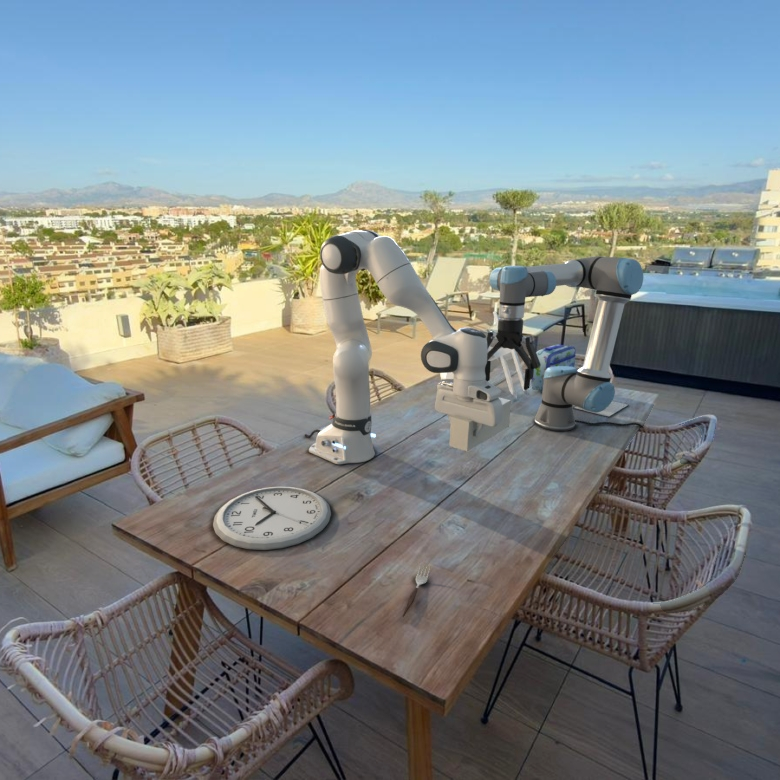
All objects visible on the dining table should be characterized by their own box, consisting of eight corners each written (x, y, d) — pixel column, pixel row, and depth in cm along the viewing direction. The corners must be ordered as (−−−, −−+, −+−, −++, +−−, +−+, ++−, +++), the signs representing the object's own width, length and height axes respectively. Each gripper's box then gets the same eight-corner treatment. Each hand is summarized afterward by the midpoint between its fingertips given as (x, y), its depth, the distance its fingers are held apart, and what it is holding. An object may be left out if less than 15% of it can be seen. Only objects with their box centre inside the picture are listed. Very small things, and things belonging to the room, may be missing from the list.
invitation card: (608, 416, 214) (573, 407, 224) (608, 416, 214) (573, 408, 224) (628, 404, 229) (594, 396, 238) (628, 405, 229) (594, 397, 238)
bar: (492, 422, 169) (494, 396, 166) (508, 426, 165) (511, 400, 162) (449, 446, 150) (450, 417, 147) (467, 451, 146) (469, 422, 143)
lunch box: (547, 397, 237) (552, 352, 231) (526, 391, 245) (531, 348, 238) (574, 386, 255) (580, 344, 249) (554, 381, 262) (559, 340, 256)
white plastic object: (461, 429, 252) (437, 405, 227) (444, 352, 274) (420, 323, 250) (535, 404, 240) (518, 377, 215) (510, 326, 262) (492, 293, 237)
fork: (396, 617, 102) (396, 608, 101) (420, 569, 116) (420, 561, 116) (409, 620, 101) (409, 612, 101) (431, 572, 116) (431, 564, 115)
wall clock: (329, 541, 123) (198, 546, 121) (329, 547, 124) (199, 552, 121) (332, 482, 152) (226, 484, 149) (332, 487, 152) (226, 489, 150)
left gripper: (431, 382, 149) (429, 427, 153) (496, 397, 137) (491, 445, 141) (443, 377, 154) (441, 421, 158) (507, 391, 142) (502, 438, 146)
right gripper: (468, 315, 163) (465, 380, 170) (546, 324, 149) (539, 395, 155) (479, 312, 169) (476, 375, 175) (555, 320, 155) (548, 389, 161)
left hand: (465, 433), depth 149 cm, fingers closed on bar, 6 cm apart
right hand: (506, 385), depth 165 cm, fingers open, 13 cm apart
